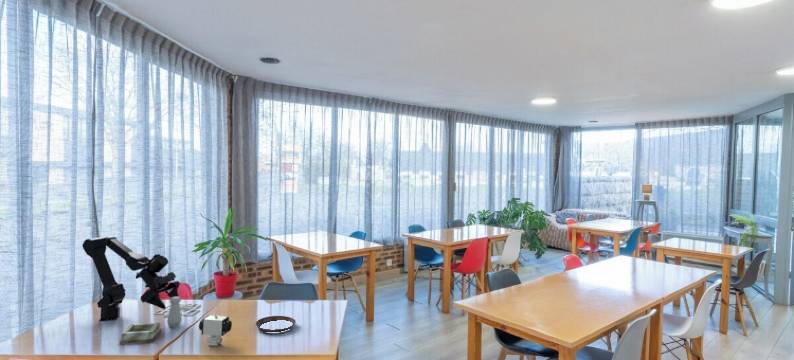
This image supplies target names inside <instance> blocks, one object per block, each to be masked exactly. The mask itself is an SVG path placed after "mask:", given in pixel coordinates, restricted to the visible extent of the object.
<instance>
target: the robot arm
mask: <svg viewBox="0 0 794 360" xmlns="http://www.w3.org/2000/svg"><path fill="white" fill-rule="evenodd" d="M107 248H109V249H110V250H111V251H112V252H114V254H116V255H118V257H120V258H121V259H123V260H124V262H125V265H126V266H127V267H128V268H129V269H130V270H131V271H133V272H134V271H135V272H136V271H137V272H136V275H135V279H136V280H137V279H140V278H141V280H142V281H143V282H144V284H145V285H144V288H145V289H148V288H149V289H148V290H146V291H145V292H143V294H142V295H141V296H140V301H141V302H142V303H146V304H148V305H149V304H150V305H152V306H155V307H158V308H160V309H164V310H166V309H165V308H166V305H165V304H164V302H163V301H162V299H161V298H160V294H163V293H165V294H166V296H168V297H169V298H172V297H176V296H177V297H180V296H179V293H178V290H179V288H180V285H181V283H180V282H179V280H176V276H177V275H176V274H175V273H174V272H173V271H170V272H169V273H167V274H166V275H164V276H162V275H158V274H157V273H160V272H161V271H162V270H163V269H165V267H166V266H167V265H169V259H168V258H167V257H165V256H164V255H161V254H160V253H156V254H154V255H153V256H152V258H148V257H147V256H146V255H144V254H142V253H138V252H135V251H133V250H132V249H131V248H129V247H128V246H127V245H125V244H124V243H123V242H122V241H120V240H119V239H118V238H117V237H116V236H113V235H111V236H105V237H94V238H92V237H91V238H87V239H85V240H83V243H82V249H83V250H84V252H85V254H86V255H87V256H89V257H90V258H91V259H92V261H93V264H94V266H95V268H96V271H97V273H98V276H99V279H100V282H101V283H102V290H101V296H102V298H101V299H99V301H98V302H96V303H97V304H96V306H97V308H100V318H99V319H98V321H99V322H103V321H104V322H105V321H116V320H117V319H118V318H119V317H120V316H121V315H120V314H121V307H120V304H122V303H123V300H124V299H125V297H126V292H127V290H126V289H125V288H124V284H123V283H118V282H117V281H116V279H115V276H114V274H113V271H112V269H111V266H110V264H109V261H108V258H107V255H106V251H107Z"/></svg>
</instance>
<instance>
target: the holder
mask: <svg viewBox="0 0 794 360" xmlns="http://www.w3.org/2000/svg"><path fill="white" fill-rule="evenodd" d="M161 331H162V328H160V322H148V323H147V322H146V323H145V322H143V323H142V322H141V323H130V324H129V325H128V326H127V327H126V328H125V330H123V332H122V333H121V337H120V338H121V339H120V341H119V343H118V345H128V344H142V343H144V344H145V343H154V342H155V341H156V339H157V338H158V336H159V335H160V333H161Z"/></svg>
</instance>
